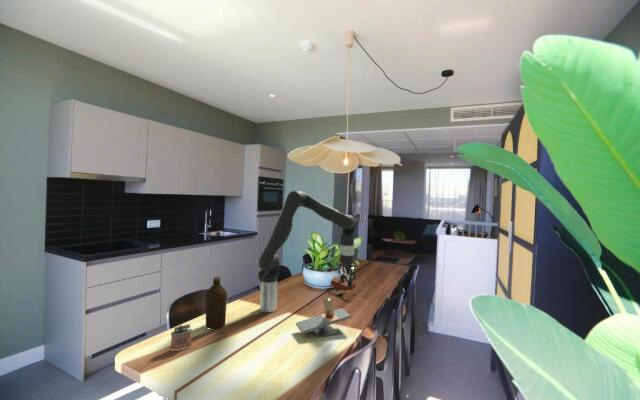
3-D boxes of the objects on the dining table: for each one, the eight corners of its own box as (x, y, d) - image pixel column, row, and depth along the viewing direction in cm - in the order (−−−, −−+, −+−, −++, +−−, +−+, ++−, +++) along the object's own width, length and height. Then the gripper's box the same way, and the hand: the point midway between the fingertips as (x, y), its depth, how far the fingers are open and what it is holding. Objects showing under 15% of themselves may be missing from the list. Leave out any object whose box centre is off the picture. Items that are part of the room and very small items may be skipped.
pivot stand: (318, 338, 136) (319, 328, 136) (309, 327, 147) (310, 318, 147) (337, 335, 140) (337, 325, 140) (327, 324, 151) (327, 316, 151)
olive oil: (222, 330, 141) (223, 280, 141) (200, 330, 141) (202, 279, 141) (229, 321, 151) (230, 274, 151) (209, 320, 152) (210, 274, 151)
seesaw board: (302, 334, 134) (302, 331, 134) (296, 325, 143) (295, 322, 143) (350, 317, 144) (350, 314, 144) (341, 310, 153) (341, 307, 153)
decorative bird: (368, 291, 196) (362, 272, 193) (349, 306, 187) (343, 286, 183) (342, 280, 220) (336, 263, 216) (324, 293, 210) (318, 276, 207)
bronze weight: (327, 319, 142) (325, 302, 141) (324, 315, 146) (322, 299, 145) (335, 316, 144) (333, 299, 143) (332, 313, 148) (329, 296, 147)
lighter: (170, 352, 121) (171, 328, 120) (170, 348, 124) (171, 325, 123) (191, 348, 124) (192, 325, 124) (191, 344, 127) (191, 322, 127)
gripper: (334, 251, 153) (333, 281, 153) (347, 256, 140) (346, 290, 140) (346, 250, 156) (345, 280, 156) (360, 255, 143) (359, 288, 143)
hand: (346, 285), depth 148 cm, fingers open, 7 cm apart
